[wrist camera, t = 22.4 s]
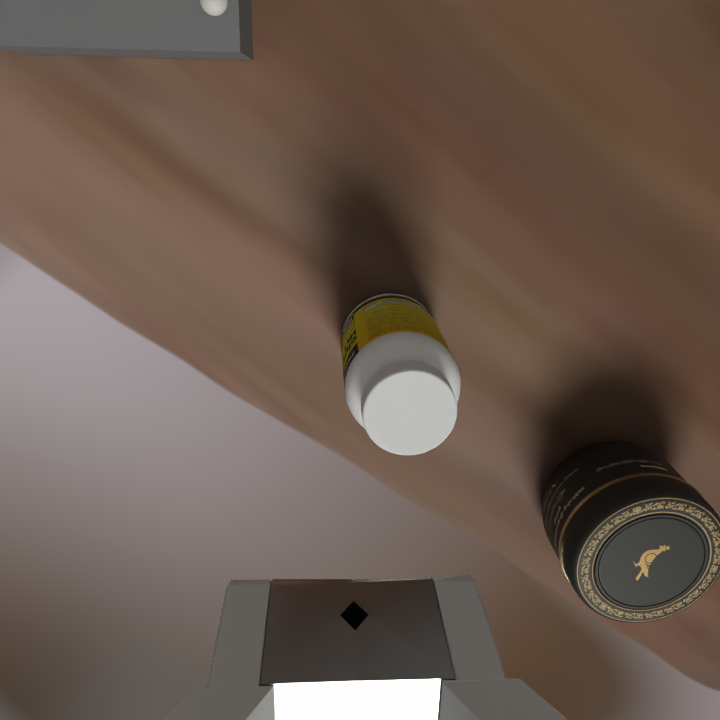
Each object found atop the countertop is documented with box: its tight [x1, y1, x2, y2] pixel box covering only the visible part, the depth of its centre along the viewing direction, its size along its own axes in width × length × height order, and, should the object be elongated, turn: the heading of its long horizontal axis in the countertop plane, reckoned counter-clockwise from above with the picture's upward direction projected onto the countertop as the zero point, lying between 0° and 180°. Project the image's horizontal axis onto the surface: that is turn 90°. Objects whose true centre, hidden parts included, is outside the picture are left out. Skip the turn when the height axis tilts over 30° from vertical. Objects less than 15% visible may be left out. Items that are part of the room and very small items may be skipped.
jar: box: [542, 442, 720, 623], centre depth 44 cm, size 10×10×8 cm
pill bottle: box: [341, 293, 460, 455], centre depth 37 cm, size 6×6×11 cm
